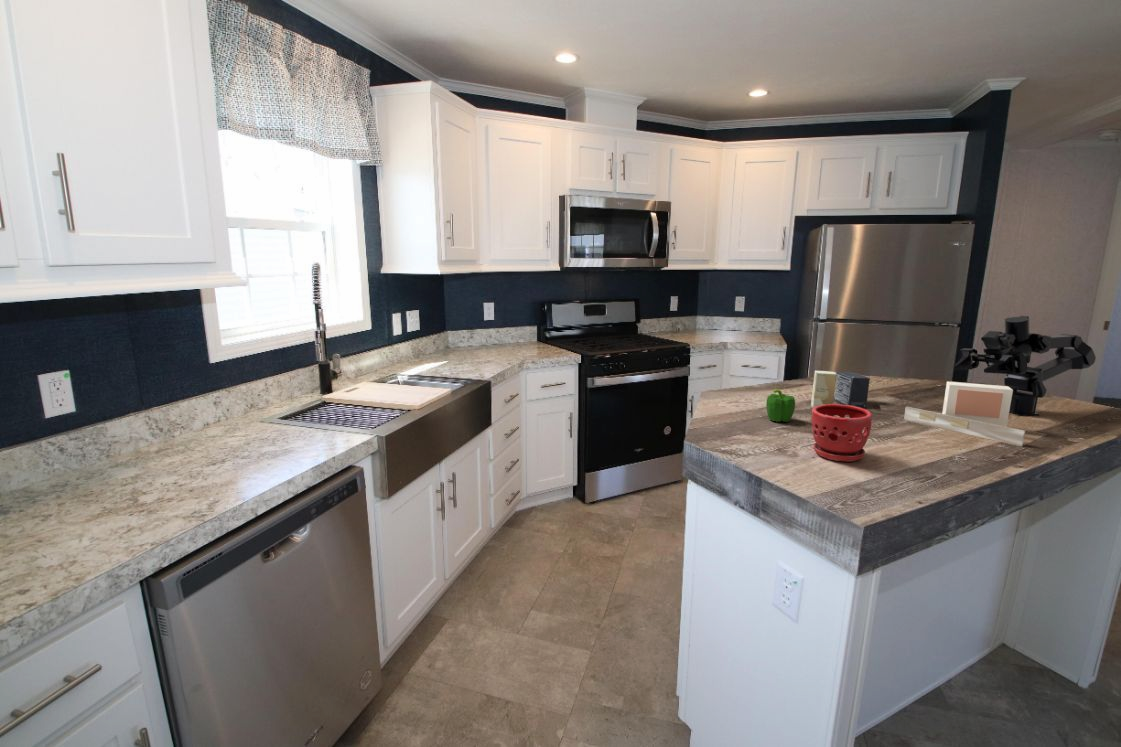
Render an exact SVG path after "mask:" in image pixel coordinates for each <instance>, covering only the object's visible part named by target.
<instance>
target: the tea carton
mask: <svg viewBox="0 0 1121 747" xmlns="http://www.w3.org/2000/svg"><path fill="white" fill-rule="evenodd" d="M944 392H945V393H944V399H943V404H942V412H941V413H942V414H946V415H951V416H956V417H960V418H965V419H970V420H975V421H980V422H985V423H990V424H995V425H1000V426H1004V427H1007V426H1008V422H1009V416H1010V415H1009V413H1010V412H1009V410H1010V404H1011V398H1012V393H1013V390H1012V389H1011V388H1010V387H1008V386H1005V385H997V384H982V383H969V382H959V381H946V385H945V391H944Z"/></svg>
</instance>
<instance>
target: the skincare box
mask: <svg viewBox="0 0 1121 747" xmlns="http://www.w3.org/2000/svg"><path fill="white" fill-rule="evenodd" d="M836 379H837V372H836V371H829V370H814V374H813V386H812V391H811V400H810V406H811V408H812V409H813V408H814V407H816V406H819V405H826V404H834V395H835V387H836Z"/></svg>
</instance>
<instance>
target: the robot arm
mask: <svg viewBox="0 0 1121 747" xmlns="http://www.w3.org/2000/svg"><path fill="white" fill-rule="evenodd" d="M980 340H981V341H982V343H983V344H984V346H985V348H983V353H979V352H978V350H977V349H975V348H965V347H964V348H961V349H959V350H958V356H959V360H958V362H956V364H955V365H954V370H973V369H977V368H978V367H979V365H980V363H981V362H982V363H985V364H986V365H987V366H986V367H985V368H984V369H983V373H984V374H1002V375H1005V377H1004V379H1003V381H1004V383H1003V384H1004V386H1008V387H1010V388H1011V389H1012V390H1013V393H1012V398H1011V404H1010V410H1009V413H1012V414H1014V415H1017V416H1040V413H1038V412H1036V410H1037V404H1038V398H1039V399H1043V398H1044V397H1045V396H1046V393H1047V388H1046V386H1045V385H1044V384H1045V383H1044V382H1045V381H1047V380H1049V379H1050V380H1051V378H1054V377H1056V376H1058V375H1061V374H1063V373H1065V372H1068V371H1070V370H1083V369H1088V368H1090V367H1092V365H1094V364H1095V363H1096V354H1095V352H1094V350H1093V348H1092V347H1091V346H1090V345H1088V344H1087V343H1086V342H1084V341H1083V339H1082V337H1081V336H1079V335H1077V334H1067V333H1061V334H1054V335H1053V334H1052V335H1044V334H1040V333H1035V332H1034V333H1033V332H1030V316H1028V315H1020V316H1013V317H1005V318H1004V332H1002V331H997V330H996V331H995V330H989V331H987V332H986V333H985V334H983V335H982V337H981V338H980ZM1050 349H1055V351H1054V354H1055V356H1056V358H1053V359H1051V360H1049V361H1046V362H1043V363H1041V364H1039V365H1037V366H1035V367H1031V366H1028V364H1030V362H1031V358H1032V353H1033V354H1041V355H1042V354H1044V353H1045V354H1046V353H1048V352H1050Z"/></svg>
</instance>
